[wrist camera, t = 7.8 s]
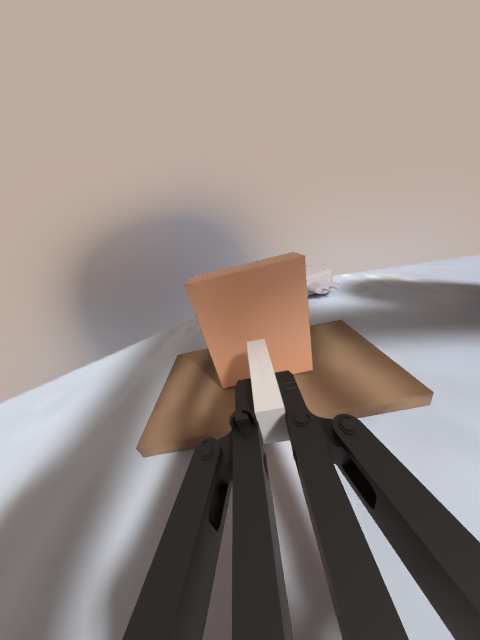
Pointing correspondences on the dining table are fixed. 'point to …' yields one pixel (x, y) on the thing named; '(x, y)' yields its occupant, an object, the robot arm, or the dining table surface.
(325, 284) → the charger
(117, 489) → the dining table surface
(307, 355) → the orange block
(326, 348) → the base board
